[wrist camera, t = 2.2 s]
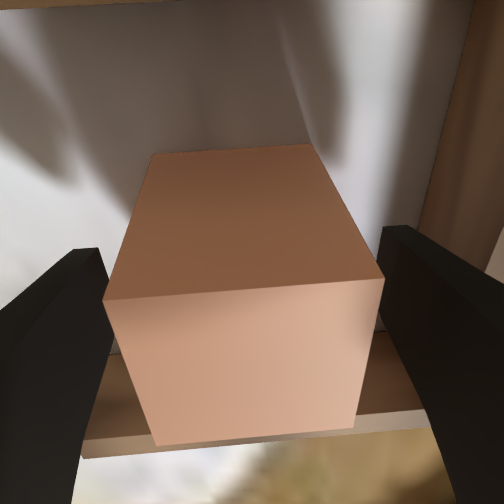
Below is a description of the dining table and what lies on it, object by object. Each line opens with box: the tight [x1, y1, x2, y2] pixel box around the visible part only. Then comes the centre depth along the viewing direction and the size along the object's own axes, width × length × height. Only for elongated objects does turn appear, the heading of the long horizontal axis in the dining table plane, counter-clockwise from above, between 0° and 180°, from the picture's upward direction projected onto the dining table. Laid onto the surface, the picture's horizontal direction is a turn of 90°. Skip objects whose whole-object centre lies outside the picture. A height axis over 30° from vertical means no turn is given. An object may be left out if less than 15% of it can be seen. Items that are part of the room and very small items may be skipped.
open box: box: [0, 0, 504, 459], centre depth 11 cm, size 13×14×4 cm
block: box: [102, 143, 385, 446], centre depth 10 cm, size 4×4×6 cm
